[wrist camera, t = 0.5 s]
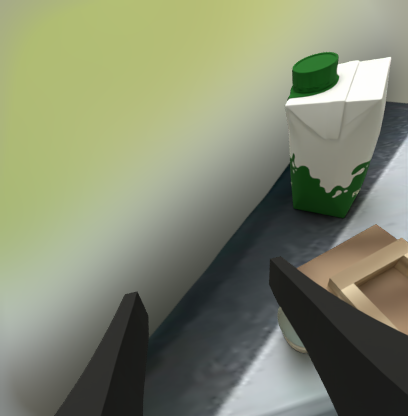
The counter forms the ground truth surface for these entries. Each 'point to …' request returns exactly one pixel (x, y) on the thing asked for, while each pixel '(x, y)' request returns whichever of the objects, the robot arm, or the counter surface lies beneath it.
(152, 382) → the counter surface
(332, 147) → the milk carton
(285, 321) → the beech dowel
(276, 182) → the counter surface
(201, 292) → the counter surface
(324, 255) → the socket board
